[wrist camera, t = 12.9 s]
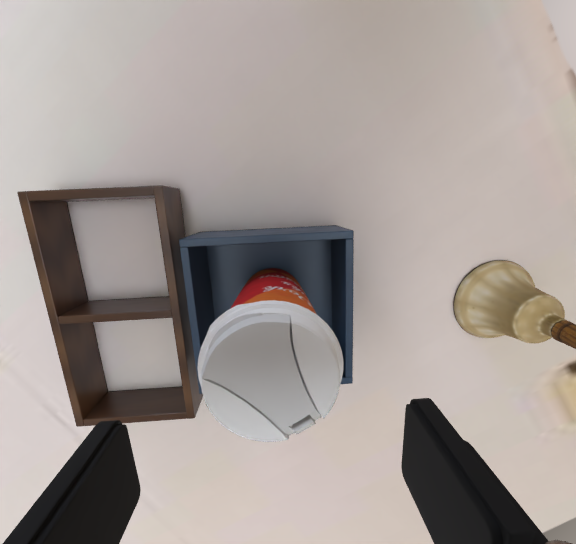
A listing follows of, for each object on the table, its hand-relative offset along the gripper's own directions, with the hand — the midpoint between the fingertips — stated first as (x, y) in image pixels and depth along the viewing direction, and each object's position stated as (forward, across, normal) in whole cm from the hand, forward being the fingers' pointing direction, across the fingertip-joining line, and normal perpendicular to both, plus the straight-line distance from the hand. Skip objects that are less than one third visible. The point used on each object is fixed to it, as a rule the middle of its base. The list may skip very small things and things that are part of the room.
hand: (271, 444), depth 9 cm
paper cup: (+18, 0, +1) cm, 18 cm away
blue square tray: (+19, 0, +1) cm, 19 cm away
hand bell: (+19, -22, +3) cm, 29 cm away
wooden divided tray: (+19, +13, +1) cm, 23 cm away
